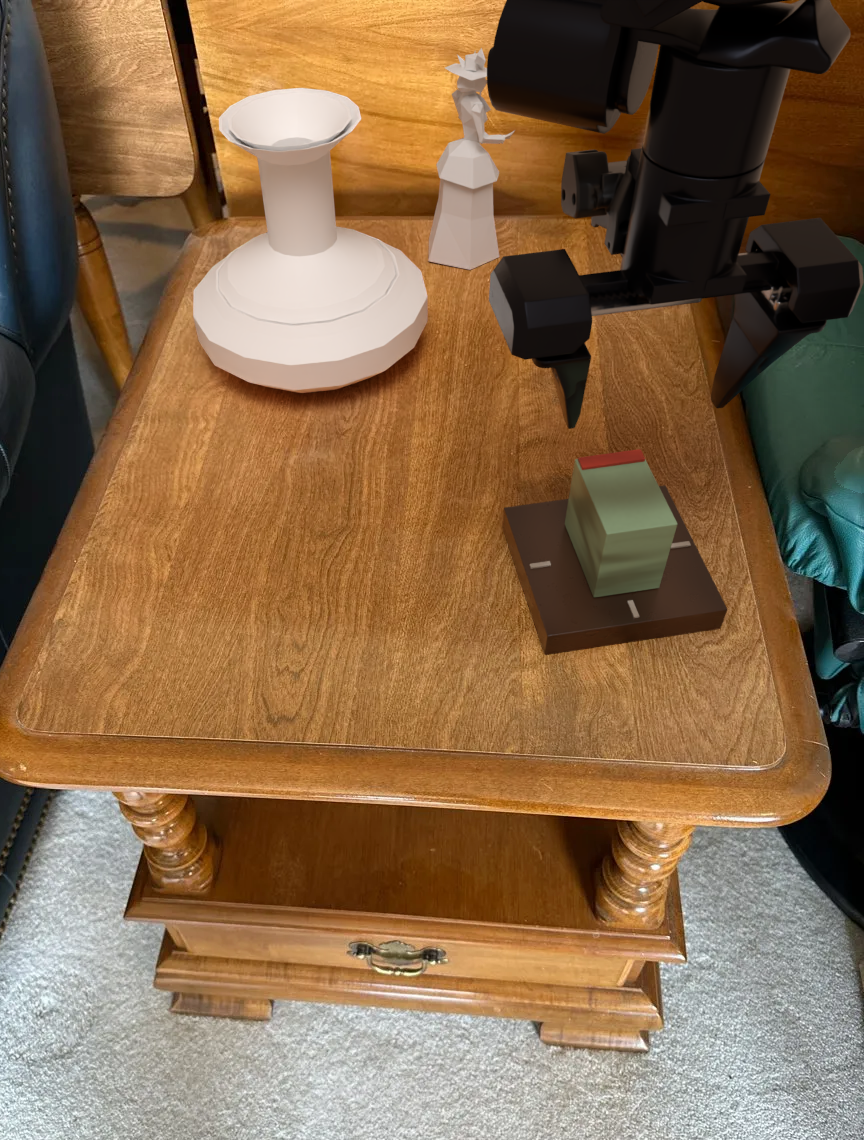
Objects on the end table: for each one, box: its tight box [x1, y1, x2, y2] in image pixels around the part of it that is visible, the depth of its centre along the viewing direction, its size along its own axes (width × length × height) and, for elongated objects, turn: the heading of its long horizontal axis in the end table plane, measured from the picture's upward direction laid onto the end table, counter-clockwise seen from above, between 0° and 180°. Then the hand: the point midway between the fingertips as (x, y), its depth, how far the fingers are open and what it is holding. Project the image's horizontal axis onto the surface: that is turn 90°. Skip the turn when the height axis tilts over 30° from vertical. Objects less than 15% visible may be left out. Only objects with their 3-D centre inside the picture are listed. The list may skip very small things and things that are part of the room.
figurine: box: [427, 47, 516, 270], centre depth 86 cm, size 7×8×18 cm
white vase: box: [192, 87, 429, 394], centre depth 77 cm, size 20×20×19 cm
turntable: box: [501, 484, 728, 656], centre depth 66 cm, size 12×12×2 cm
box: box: [565, 448, 677, 597], centre depth 63 cm, size 7×4×6 cm, turn 9°
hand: (643, 413), depth 57 cm, fingers open, 9 cm apart
